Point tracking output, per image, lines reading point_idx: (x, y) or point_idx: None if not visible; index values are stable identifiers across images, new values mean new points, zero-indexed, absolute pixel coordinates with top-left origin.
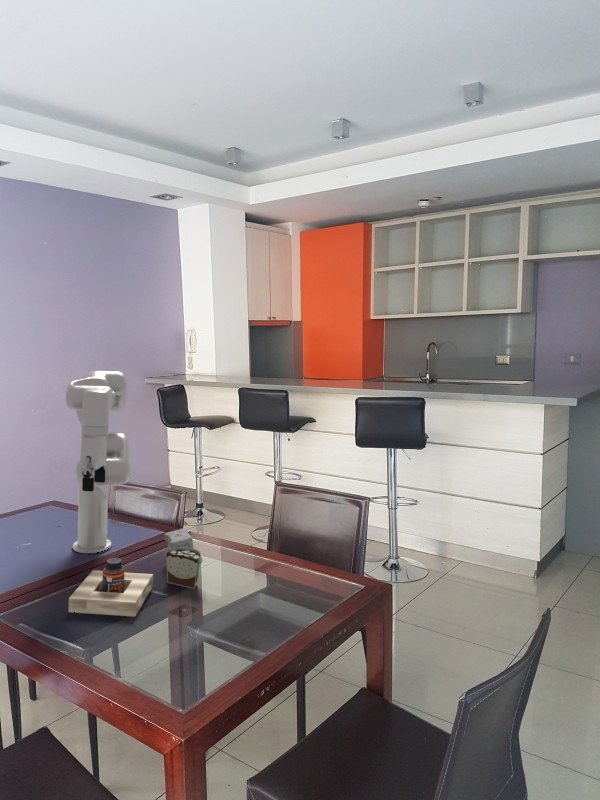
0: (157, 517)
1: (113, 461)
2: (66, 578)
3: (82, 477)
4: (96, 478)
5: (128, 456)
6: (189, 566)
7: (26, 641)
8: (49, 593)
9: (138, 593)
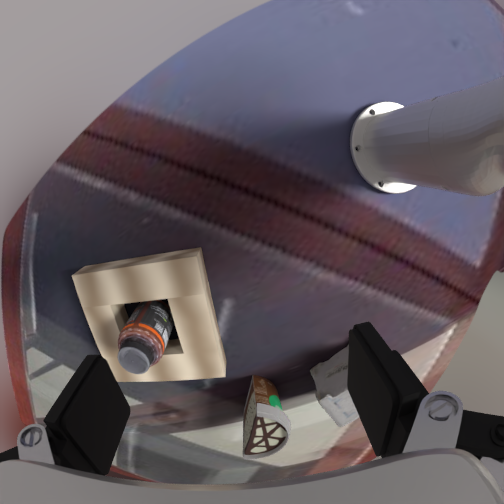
0: None
1: None
2: (204, 177)
3: (25, 429)
4: (357, 360)
5: None
6: (246, 433)
7: (13, 254)
8: (128, 187)
9: (141, 378)
